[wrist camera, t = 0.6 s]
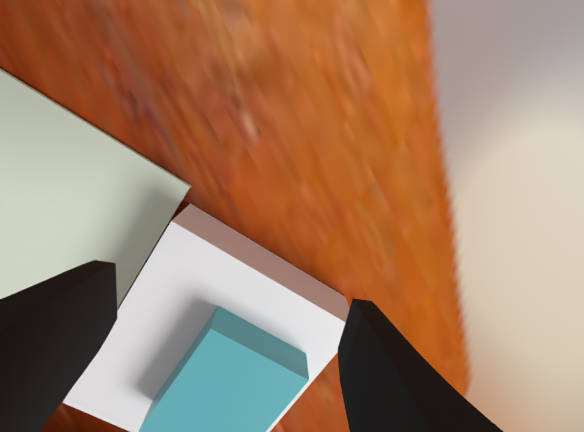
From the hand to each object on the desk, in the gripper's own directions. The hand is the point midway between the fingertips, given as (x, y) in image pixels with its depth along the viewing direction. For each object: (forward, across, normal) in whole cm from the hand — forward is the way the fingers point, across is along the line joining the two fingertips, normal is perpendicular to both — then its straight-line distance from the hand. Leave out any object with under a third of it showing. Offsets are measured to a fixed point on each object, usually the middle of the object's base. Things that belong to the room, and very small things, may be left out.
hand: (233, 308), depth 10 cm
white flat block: (+10, +2, +10) cm, 14 cm away
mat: (+10, +14, +5) cm, 17 cm away
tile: (+6, 0, +10) cm, 12 cm away
